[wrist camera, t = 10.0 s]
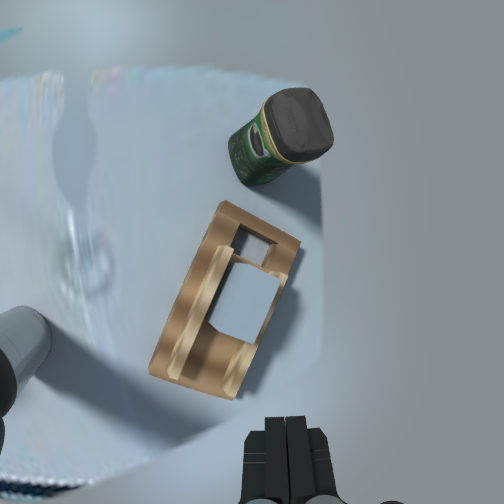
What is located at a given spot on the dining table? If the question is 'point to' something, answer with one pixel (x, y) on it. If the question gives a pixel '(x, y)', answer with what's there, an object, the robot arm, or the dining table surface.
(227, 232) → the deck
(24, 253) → the dining table surface
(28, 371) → the robot arm
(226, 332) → the block
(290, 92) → the coffee jar
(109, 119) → the dining table surface
